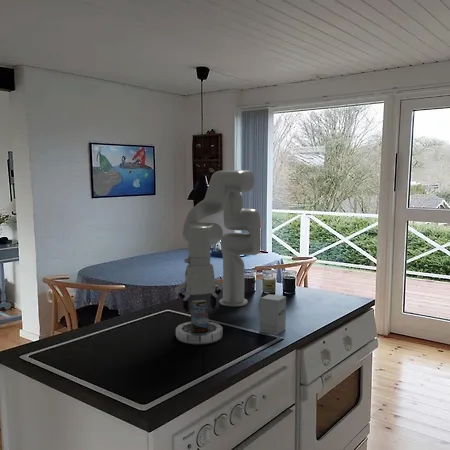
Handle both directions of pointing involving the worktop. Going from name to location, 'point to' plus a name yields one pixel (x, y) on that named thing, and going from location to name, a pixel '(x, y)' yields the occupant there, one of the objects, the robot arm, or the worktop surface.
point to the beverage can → (199, 317)
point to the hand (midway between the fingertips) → (199, 309)
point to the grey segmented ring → (190, 338)
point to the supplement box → (272, 314)
